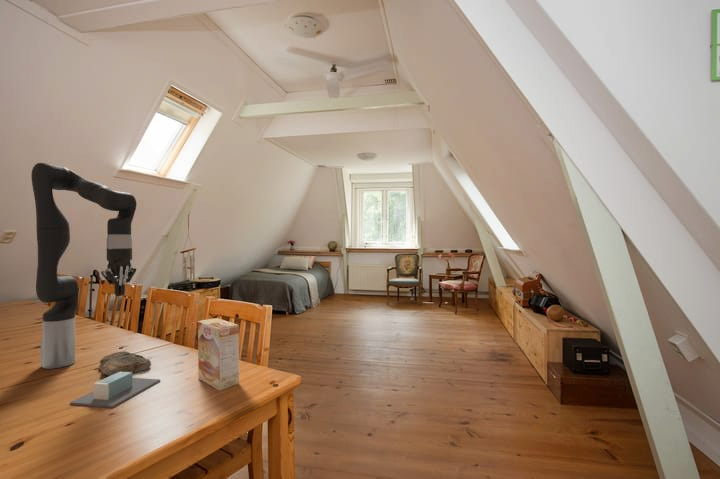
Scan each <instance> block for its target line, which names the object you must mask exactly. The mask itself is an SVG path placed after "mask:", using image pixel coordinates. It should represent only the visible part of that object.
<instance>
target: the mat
mask: <svg viewBox="0 0 720 479" xmlns="http://www.w3.org/2000/svg"><path fill="white" fill-rule="evenodd" d="M160 382H161V379H159V378H157V379H156V378H142V377H132V387H131V388H129V389H127V390H125V391H123V392H121V393H119V394H117V395H115V396H114V397H112V398H110V399H108V400H101V399H94V390H93V391H91V392H88V393H86V394H85V395H82V396H79V397H78V398H76V399H74V400H72V401H70V402H69V405H72V406H73V405H75V406H83V407H84V406H85V407H95V408H109V409H113V408H115V407H118V406H119V405H122V403H124V402H126V401H128V400H130V399H131V398H133V397H135V396H137V395H139V394H140V393H142V392H144V391H145V390H148V389H149V388H151V387H153V386H155V385H156V384H158V383H160Z"/></svg>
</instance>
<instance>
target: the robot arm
mask: <svg viewBox="0 0 720 479" xmlns="http://www.w3.org/2000/svg"><path fill="white" fill-rule="evenodd" d="M30 175H31V176H30V177H31V184H32V186H31V187H32V191H33V192H32V193H33V197H34V203H35V204H34V205H35V216H36V224H35V225H36V228H35V230H36V242H37V266H36V267H37V268H36V269H37V270H36V282H35V292H36V293H35V294H36V297H37V298H38V300H39V301H40V302H42V303H44V304H48V303H49V304H51V303H54V305H53V306H52V307H51V308H49V309H48V310H47V311H46V310H45V312H44V313H43V314H42V340H41V341H40V367H42V368H43V369H44V370H45V369H46V370H49V369H51V370H52V369H58V368H59V369H60V368H63V367H64V368H65V367H67V366H70V365H72V364H75V363H76V312H77V310H78V308H79V307H78V306H79V289H80V288H79V284H78V280H77V279H76V278H75V277H74V276H71V275H60V276H58V265H59V262H60V260H61V258H62V257H63V255H64V253H65V251H66V250H67V248H68V247H69V244H70V241H71V233H70V223H69V222H68V219H67V218H66V217H65V215H64V214H63V212H62V211H61V210H60V208H59V207H58V205H57V203H56V201H55V198H54V193H53V190H56V191H68V192H69V191H70V192H73V193H77V194H78V196H80V197H81V198H83V199H85V200H86V201H89V202H92V203H94V204H97V205H98V206H100V207H101V208H102V209H105V210H106V211H107V210H108V211H111V212H118V213H117V216H116V217H112V218H109V219H108V220H107V228H106V230H107V231H106V232H107V233H106V234H107V235H106V261H107V262H108V264H107V268H106V269H105V270H102V271H101V275H102V277H103V278H104V279H105V281H107V283H108V284H109V285H113V286H114V295H115V296H116V297H121V296H124V295H125V292H126V287H125V286H126V284H127V283H130V282H131V280H132V279H133V277H134V275H135V274H136V272H137V268H135V267H134V268H133V266H132V263H131V261H132V260H133V238H132V222H133V218H134V216H135V212H136V209H137V205H138V204H137V199H136V198H135V196H134V195H133V194H132V193H130V192H124V191H116V190H113V189H111V188H110V187H108V186H107V185H104V184H101V183H98V182H96V181H93V180H89V179H87V178H85V177H83V176H81V175H79V174H77V173H76V172H75V171H73V170H71V169H69V168H68V167H66V166H60V165H56V164H51V163H46V162H38V163H36V164H35V165H34V166H33V167H32V170H31V174H30Z"/></svg>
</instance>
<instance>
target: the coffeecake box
mask: <svg viewBox="0 0 720 479" xmlns="http://www.w3.org/2000/svg"><path fill="white" fill-rule="evenodd" d="M239 328H240V325H239V324H237V323H234V322H231V321H227V320H225V319H221V318H218V317H216V318H215V317H214V318H209V319H202V320H198V321H197V338H198V340H197V341H198V342H197V346H198V347H197V348H198V349H197V350H198V351H197V352H198V353H197V357H198V359H197V360H198V362H197V363H198V365H197V366H198V368H197V370H198V373H197V375H198V376H197V377H198V380H201V381H202V382H204V383H205V384H207V385H209V386H211V387H212V388H214V389H216V390H218V391H219V392H220V391H223V390H227V389H228V388H231V387H234V386H237V385H240V351H239V350H240V346H239V345H240V340H239V338H240V335H239V333H240V331H239V330H240V329H239Z"/></svg>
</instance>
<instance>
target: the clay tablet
mask: <svg viewBox="0 0 720 479" xmlns="http://www.w3.org/2000/svg"><path fill="white" fill-rule="evenodd" d="M151 366H152V363H151V360H150V359H149V358H146V357H144V356H142V355H140V354H136V353H132V352H128V351H126V350H125V351H117V352H114V353H111V354H109V355H105V356H103V357H102V358H101V359H100V361H99V365H98V368H99V371H100V372H101V373H102V375H106V376H107V377H109V376H111V375H113V374H116V373H118V372H132V374H133V373H138V372H142V371H147V370H149V369H150V368H151Z"/></svg>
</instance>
